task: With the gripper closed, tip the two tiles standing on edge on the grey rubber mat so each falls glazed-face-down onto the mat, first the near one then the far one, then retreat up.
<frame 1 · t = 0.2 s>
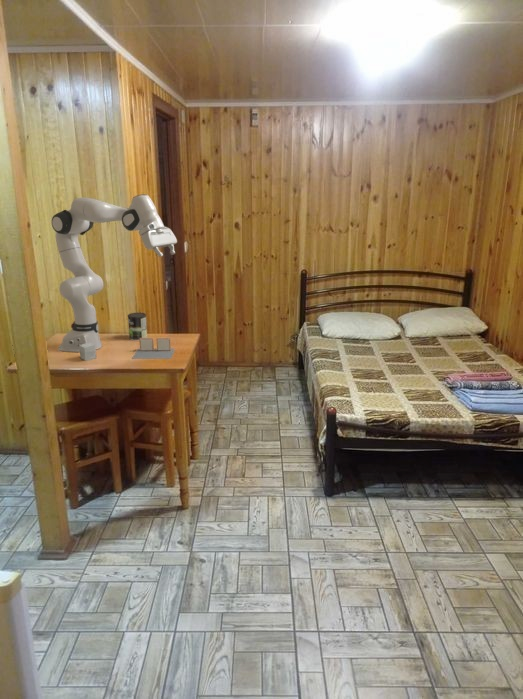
hand: (167, 255, 229), 54 cm above the table, tool tilted 30°, fingers open, 8 cm apart
coffee can: (138, 338, 285), on the table
mat: (154, 354, 259), on the table
tile a: (147, 350, 264), resting on mat
tile b: (164, 350, 264), resting on mat
skincare box: (88, 358, 252), on the table
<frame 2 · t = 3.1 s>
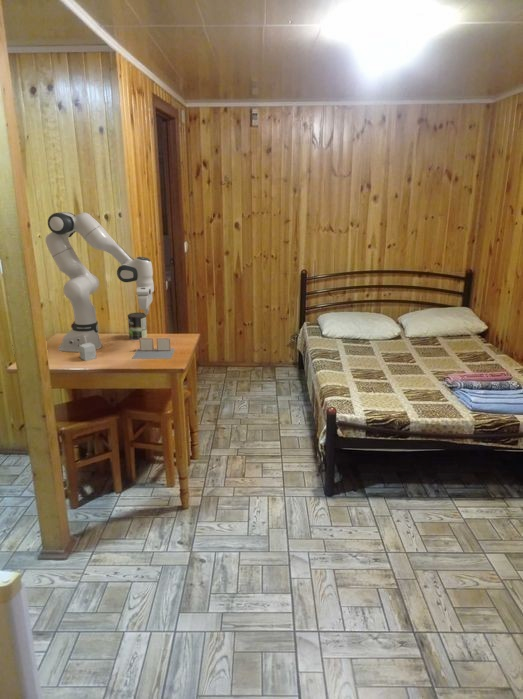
hand: (146, 313, 263), 19 cm above the table, tool pointing down, fingers closed
nothing on the table moved.
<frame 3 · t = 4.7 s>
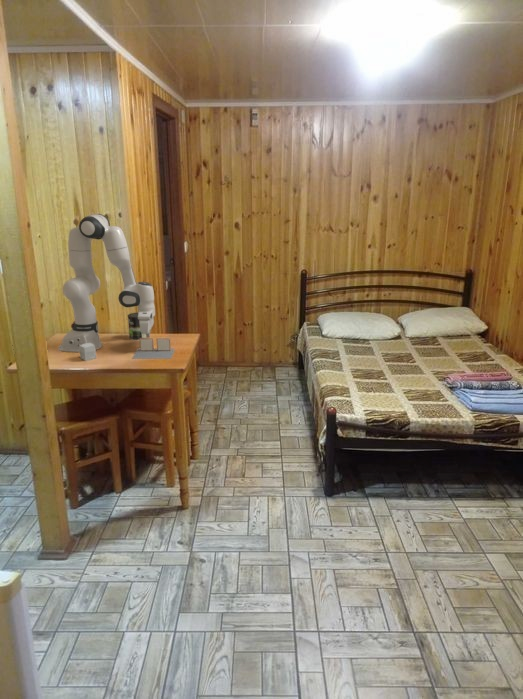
hand: (148, 337, 267), 6 cm above the table, tool pointing down, fingers closed
nothing on the table moved.
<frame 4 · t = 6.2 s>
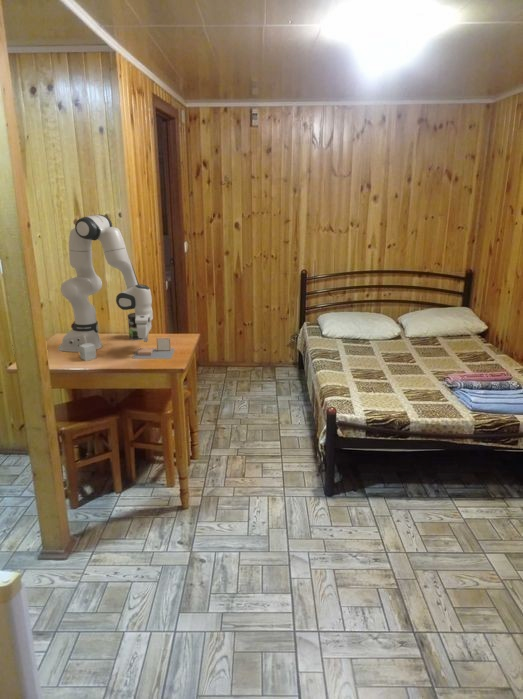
hand: (145, 341, 260), 6 cm above the table, tool pointing down, fingers closed
tile a: (146, 349, 262), point 1 cm above the table, tilted 90°, touching mat
everything else where it was.
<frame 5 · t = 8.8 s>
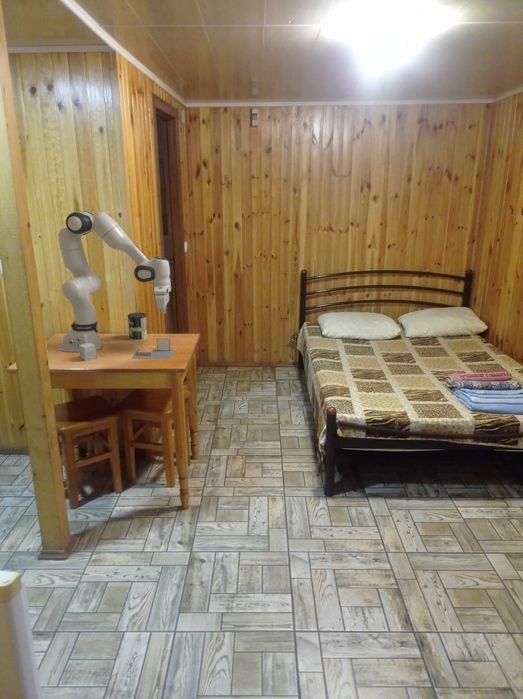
hand: (164, 313, 263), 19 cm above the table, tool pointing down, fingers closed
nothing on the table moved.
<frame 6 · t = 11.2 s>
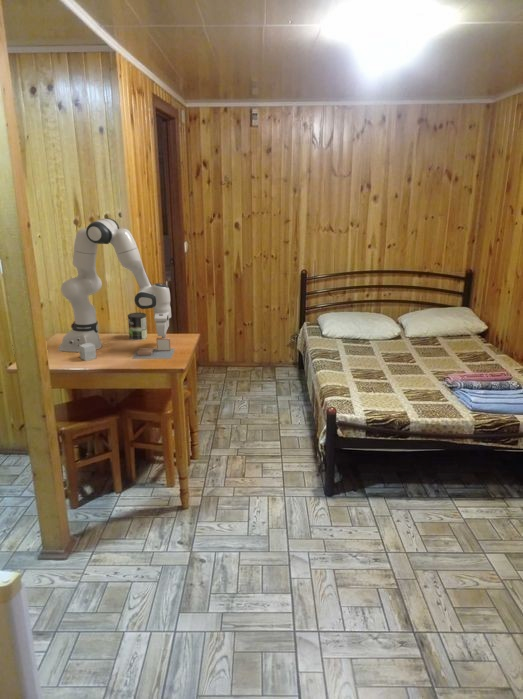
hand: (164, 339, 264), 6 cm above the table, tool pointing down, fingers closed
tile b: (164, 350, 264), resting on mat, tilted 5°, touching gripper
everything else where it was.
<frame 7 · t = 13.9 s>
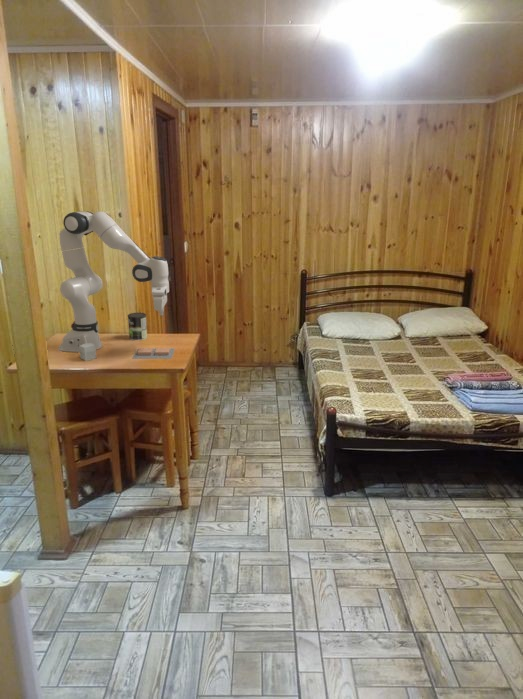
hand: (161, 314, 256), 20 cm above the table, tool pointing down, fingers closed
tile b: (163, 349, 263), point 1 cm above the table, tilted 90°, touching mat
everything else where it was.
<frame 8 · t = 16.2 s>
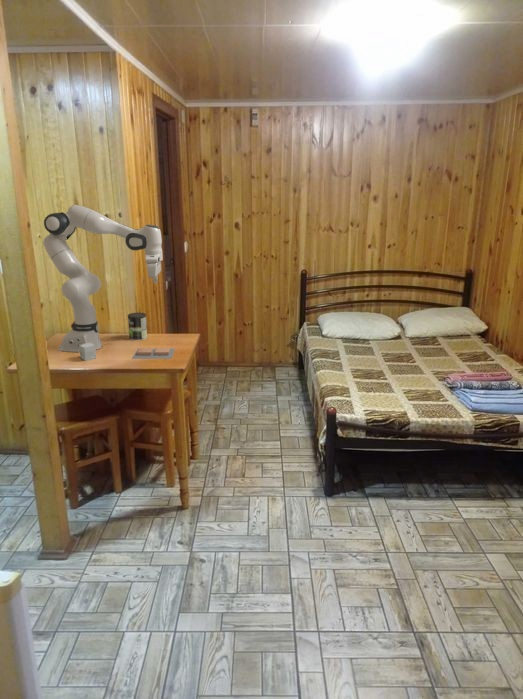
hand: (155, 283, 261), 35 cm above the table, tool pointing down, fingers closed
nothing on the table moved.
at the end: tile a tilted 90°; tile b tilted 90°; tile a inside the target area (6.4 cm from its centre), point 1.3 cm above the table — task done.
